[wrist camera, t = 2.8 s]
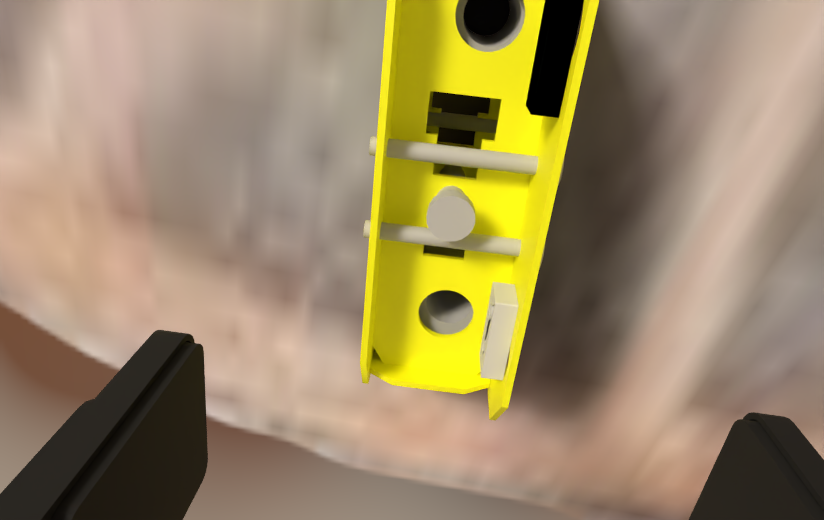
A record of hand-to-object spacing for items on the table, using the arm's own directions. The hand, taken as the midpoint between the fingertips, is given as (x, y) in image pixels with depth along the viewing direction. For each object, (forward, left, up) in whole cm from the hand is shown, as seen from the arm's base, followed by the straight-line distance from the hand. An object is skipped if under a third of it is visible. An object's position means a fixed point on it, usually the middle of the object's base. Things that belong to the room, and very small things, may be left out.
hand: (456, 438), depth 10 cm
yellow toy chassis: (0, -2, -15) cm, 15 cm away
